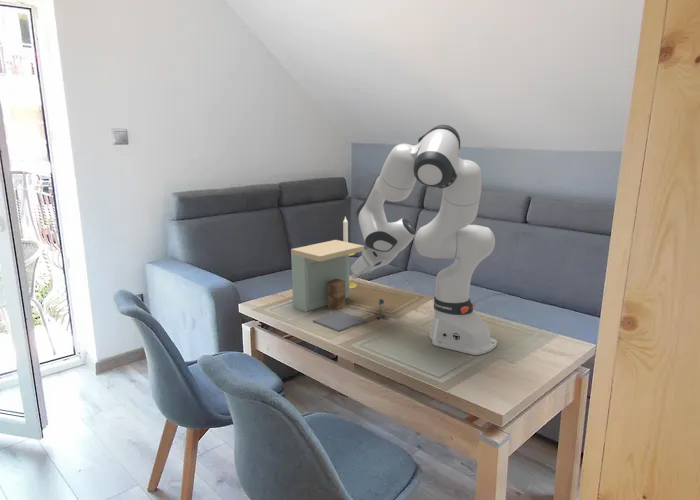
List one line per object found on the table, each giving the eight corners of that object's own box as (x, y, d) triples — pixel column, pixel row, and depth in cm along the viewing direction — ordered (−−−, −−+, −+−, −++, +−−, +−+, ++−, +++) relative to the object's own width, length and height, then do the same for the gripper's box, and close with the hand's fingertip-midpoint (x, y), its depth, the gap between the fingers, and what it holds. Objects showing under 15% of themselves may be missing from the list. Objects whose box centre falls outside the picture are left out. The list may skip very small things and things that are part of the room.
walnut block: (345, 306, 201) (345, 280, 198) (337, 310, 197) (337, 283, 194) (336, 304, 204) (335, 278, 201) (328, 307, 200) (327, 281, 197)
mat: (366, 321, 185) (366, 319, 185) (339, 331, 175) (339, 330, 175) (340, 312, 195) (340, 310, 195) (312, 321, 185) (312, 320, 185)
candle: (361, 284, 230) (360, 215, 223) (349, 290, 222) (348, 218, 214) (342, 281, 235) (342, 213, 228) (331, 286, 227) (329, 216, 219)
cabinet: (364, 302, 206) (364, 245, 200) (321, 317, 189) (319, 256, 184) (336, 293, 217) (335, 239, 212) (293, 307, 201) (291, 249, 195)
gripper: (392, 241, 190) (371, 262, 198) (361, 251, 174) (339, 273, 182) (402, 254, 188) (380, 274, 196) (371, 265, 172) (349, 287, 180)
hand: (360, 274), depth 189 cm, fingers open, 8 cm apart
